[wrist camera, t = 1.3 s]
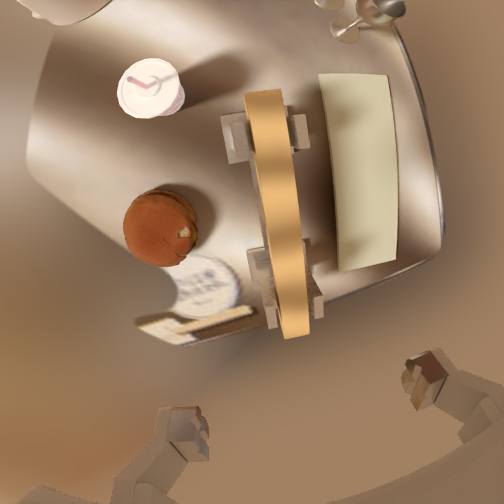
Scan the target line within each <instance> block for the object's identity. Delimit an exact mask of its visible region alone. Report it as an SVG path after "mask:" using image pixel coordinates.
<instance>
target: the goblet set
mask: <svg viewBox="0 0 504 504" xmlns="http://www.w3.org/2000/svg"><path fill="white" fill-rule="evenodd" d="M314 1H315V2H316V4H318V5H319V6H320V7H322V8H324V9H326V10H330V11H337V10H340V9H341V8H342V7H343V6H344V0H314ZM356 12H357V14H358V17H357V19H356V20H355V21H354V22H352V21H351V20H349V19H347V18H343V17H338V18H335V19H333V20H332V21H331V23H330V30H331V33H332V34H333V36H334V37H335V38H336V39H337V40H339V41H341V42H343V43H346V44H352V43H355V42H356V41H357V40H358V39H359V36H360V33H359V29H358V27H357V26H356V24H359V23H362V22H365V23H367V24H370V25H373V26H388V25H391V24H394V23H396V22H397V21H398V20H400V19H401V18H402V17H403V16H404V15H405V13H406V7H405V4H404V2H403V0H357V2H356Z"/></svg>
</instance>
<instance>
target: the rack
mask: <svg viewBox="0 0 504 504" xmlns="http://www.w3.org/2000/svg"><path fill="white" fill-rule="evenodd" d="M284 110H285V115H286V122H287V128H288V134H289V141H290V147H291V154H294V148H297V149H304V148H310V142H309V135H308V128H307V122H306V115H305V114H299V115H292V116H288V110H287V106H285V107H284ZM220 118H221V123H222V129H223V134H224V139H225V145H226V150H227V155H228V160H229V164H233V163H238V162H243V161H249V162H250V167H251V173H252V179H253V185H254V190H255V196H256V202H257V208H258V214H259V220H260V226H261V232H262V238H263V244H264V247H262V248H257V249H251V250H246V253H247V259H248V264H249V269H250V274H251V279H252V284H253V289H254V291H257V290H261V295H262V300H263V304H264V309H265V314H266V318H267V323H268V328H269V329H272V328H277V327H278V325H277V318H276V312H275V308H278V304H277V298H276V291H275V284H274V278H273V271H272V265H271V258H270V252H269V245H268V239H267V233H266V226H265V220H264V214H263V208H262V202H261V196H260V190H259V184H258V178H257V172H256V166H255V160H254V155H253V149H252V143H251V137H250V132H249V126H248V121H247V115H246V112H241V113H235V114H230V115H224V116H220ZM302 243H303V254H304V264H305V276H306V288H307V301H308V305H309V307H310V309H311V311H312V314H313V316H314V318H315V319H318V318H322V317H324V316H323V295H322V293H321V291H320V289H319V287H318V286H317V284H316V282H315V280H314V278H313V277H312V275H311V273H310V271H309V269H308V268H307V259H306V248H305V242H304V240H302Z"/></svg>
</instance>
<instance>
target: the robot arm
mask: <svg viewBox="0 0 504 504" xmlns="http://www.w3.org/2000/svg"><path fill="white" fill-rule="evenodd" d="M17 1H18V2H20V3H21V4H23V5H24V6H26V7H27V8H29V9H30V10H32V11H33V12H32V16H33V17H35V18H37V19H43V18H45V19H47V20H48V21H49V22H51V23H52V24H55V25H69V24H73V23H76V22H79V21H81V20H83V19H85V18H87V17H89V16H91V15H92V14H94V13H95V12H97V11H98V10H100V9H101V8H102V7H103V6H105V5H106V4H107V3H108V2H109V1H110V0H17ZM405 366H406V369H405V370H404V371H403V373H402V377H401V379H402V385H403V388H404V390H405V392H406V393H408V394H410V395H411V402H412V404H413V406H414V407H415V409H416V411H419V410H422V409H424V408H426V407H428V406H431V405H433V404H434V406H436V407H437V408H439V409H441V410H442V411H444V412H446V413H447V414H449V415H451V416H452V417H454V418H456V419H458V420H459V421H461V422H463V423H464V425H463V426H462V428H461V429H460V431H459V432H458V436H459V438H460V439H461V441H462V443H463V445H461V446H459V447H458V448H456V449H455V450H453V451H451V452H450V453H448V454H446V455H445V456H443V457H441V458H439V459H437V460H436V461H434V462H432V463H430V464H428V465H426V466H424V467H422V468H420V469H418V470H416V471H414V472H412V473H410V474H408V475H405V476H403V477H401V478H399V479H396V480H394V481H392V482H389V483H387V484H384V485H382V486H379V487H376V488H374V489H371V490H368V491H365V492H362V493H360V494H356V495H353V496H350V497H346V498H343V499H340V500H336V501H332V502H328V503H325V504H504V387H503V386H502V385H501V384H498V383H495V382H493V381H490V380H487V379H484V378H482V377H479V376H477V375H474V374H472V373H469V372H466V371H464V370H458V369H457V368H456V367H455V366H454V364H453V363H452V362H451V360H450V359H449V358H448V357H447V355H446V354H445V353H444V352H443V350H442V349H441V348H440V347H435V348H433V349H431V350H428V351H425V352H423V353H420V354H418V355H416V356H413V357H411V358H408V359H407V360H406V363H405ZM208 439H209V427H208V423H207V420H206V418H205V417H204V416H202V415H201V409H200V408H199V406H194V407H166V408H165V407H164V408H160V409H159V411H158V414H157V420H156V426H155V432H154V438H153V442H149V443H148V444H147V445H146V446H145V447H144V449H142V451H140V453H139V454H138V455H137V456H136V457H135V458H134V459H133V460H132V461H131V462H130V463H129V464H128V465H127V466H126V467H125V468H124V469H123V470H122V471H121V472H120V473H119V474H118V475H117V476H116V477H115V479H114V484H113V490H112V496H111V501H110V504H178V503H177V502H176V501H175V500H173V499H171V498H170V497H168V496H167V493H168V492H169V490H170V489H171V488H172V486H173V485H174V483H175V482H176V480H177V479H178V478H179V476H180V475H181V473H182V472H183V470H184V469H185V467H186V466H187V464H188V462H205V461H209V446H208V445H207V443H206V441H207V440H208ZM14 504H100V503H97V502H93V501H89V500H86V499H82V498H79V497H76V496H73V495H70V494H67V493H64V492H61V491H58V490H56V489H53V488H50V487H48V486H45V485H41V484H40V485H36V486H34V487H32V488H31V489H29V490H28V491H26V492H25V493H24V494H22V495H21V496H20V497H18V498H17V500H16V501H15V503H14Z"/></svg>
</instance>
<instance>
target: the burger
mask: <svg viewBox="0 0 504 504" xmlns="http://www.w3.org/2000/svg"><path fill="white" fill-rule="evenodd" d="M196 222H197V221H196V215H195V213H194V211H193V209H192V207H191V206H190V204H188V203H187V201H186V200H185V199H184V198H182V197H181V196H179V195H177V194H175V193H173V192H170V191H162V190H151V191H148V192H146V193H144V194H143V195H140V196H138V197H137V198H136V199H135V200H134V202H133V201H132V204H131V206H130V207H129V209H128V210H127V212H126V214H125V218H124V221H123V230H124V235H125V240H126V243H127V246H128V248H129V250H130V252H131V253H132V254H133V255H134V256H135V257H136V258H138V259H139V260H141V261H143V262H145V263H149V264H152V265H155V266H159V267H170V266H175V265H178V264H179V263H180V262H181V261H183V260H184V259H185V258H186V255H187V254H189V253H190V251H191V250H192V248H193V247H194V246H195V245H196V240H197V227H196V226H197V225H196Z"/></svg>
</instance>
